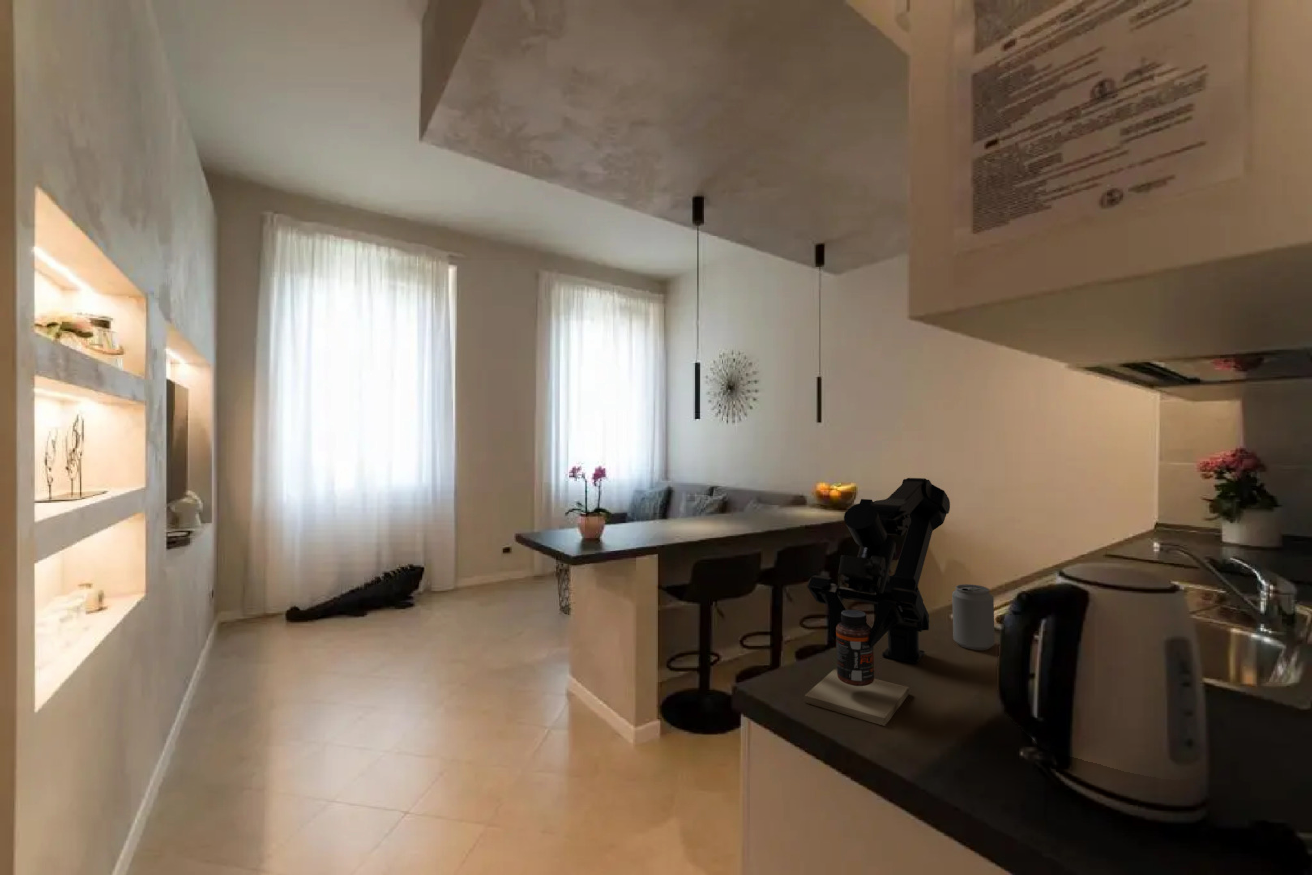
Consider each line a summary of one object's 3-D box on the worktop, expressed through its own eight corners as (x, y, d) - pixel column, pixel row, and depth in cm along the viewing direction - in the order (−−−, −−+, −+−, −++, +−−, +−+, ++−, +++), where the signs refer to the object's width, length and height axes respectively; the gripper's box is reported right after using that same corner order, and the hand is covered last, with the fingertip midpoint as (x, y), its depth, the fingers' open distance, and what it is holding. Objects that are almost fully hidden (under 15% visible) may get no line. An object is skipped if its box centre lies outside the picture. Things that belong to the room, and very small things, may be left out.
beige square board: (834, 675, 105) (834, 668, 105) (908, 694, 97) (908, 687, 97) (804, 702, 95) (804, 695, 95) (884, 726, 87) (884, 718, 87)
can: (947, 637, 122) (946, 582, 122) (985, 638, 121) (983, 582, 121) (961, 651, 114) (960, 592, 114) (1001, 652, 113) (1000, 592, 113)
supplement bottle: (867, 691, 91) (864, 621, 91) (831, 681, 95) (828, 614, 95) (879, 677, 95) (877, 611, 95) (845, 669, 99) (843, 605, 99)
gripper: (809, 531, 104) (782, 606, 96) (917, 542, 92) (896, 630, 83) (829, 564, 110) (805, 638, 102) (932, 579, 98) (914, 664, 90)
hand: (850, 642), depth 94 cm, fingers closed on supplement bottle, 6 cm apart
